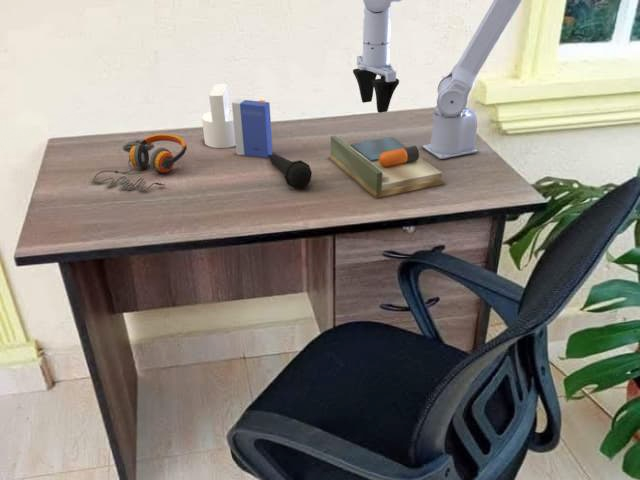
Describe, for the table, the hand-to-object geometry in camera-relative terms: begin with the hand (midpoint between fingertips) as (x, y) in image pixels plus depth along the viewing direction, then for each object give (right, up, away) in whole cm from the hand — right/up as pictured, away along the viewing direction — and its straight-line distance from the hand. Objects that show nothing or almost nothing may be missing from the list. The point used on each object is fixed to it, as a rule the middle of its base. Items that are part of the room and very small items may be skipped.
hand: (374, 106), depth 146 cm
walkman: (-27, -10, +3) cm, 29 cm away
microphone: (-19, -17, -6) cm, 26 cm away
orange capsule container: (+5, -14, -10) cm, 18 cm away
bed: (+2, -16, -5) cm, 17 cm away
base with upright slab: (-35, -5, +10) cm, 37 cm away
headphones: (-49, -16, -4) cm, 52 cm away
